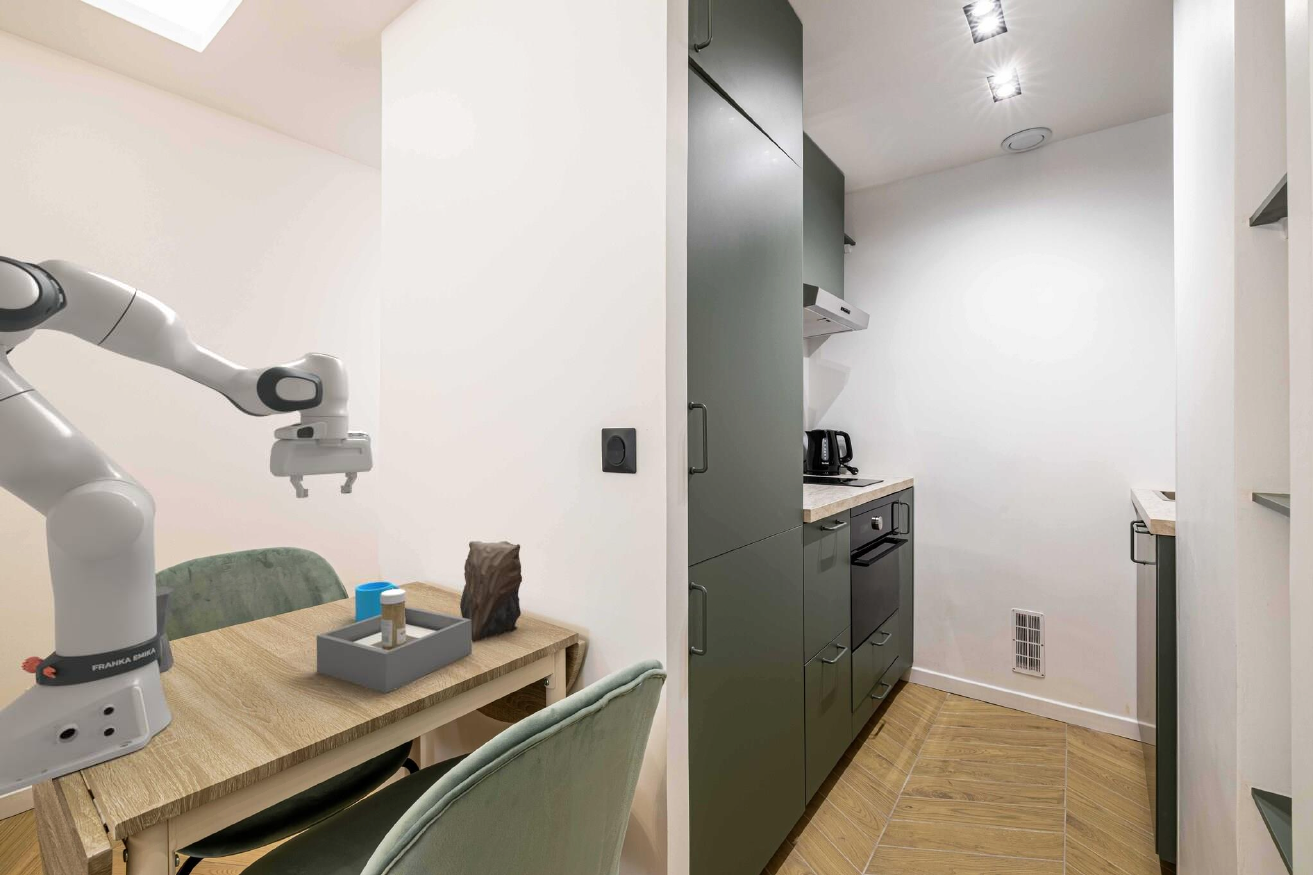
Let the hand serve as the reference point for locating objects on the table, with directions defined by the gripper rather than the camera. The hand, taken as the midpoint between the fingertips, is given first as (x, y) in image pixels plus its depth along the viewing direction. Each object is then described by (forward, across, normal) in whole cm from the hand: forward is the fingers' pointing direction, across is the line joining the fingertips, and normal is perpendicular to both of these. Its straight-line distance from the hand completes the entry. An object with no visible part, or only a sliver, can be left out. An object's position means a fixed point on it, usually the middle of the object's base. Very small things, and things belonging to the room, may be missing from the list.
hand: (325, 495), depth 119 cm
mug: (+33, -19, -8) cm, 39 cm away
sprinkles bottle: (+32, -1, +21) cm, 38 cm away
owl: (+33, -23, +23) cm, 46 cm away
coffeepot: (+33, +24, -19) cm, 45 cm away
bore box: (+32, -2, +20) cm, 38 cm away
